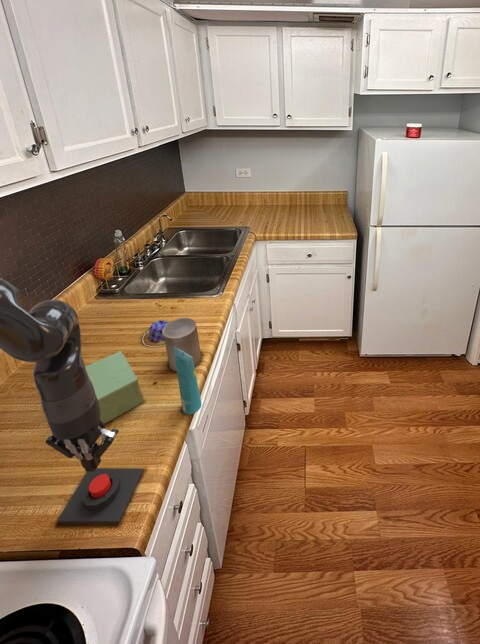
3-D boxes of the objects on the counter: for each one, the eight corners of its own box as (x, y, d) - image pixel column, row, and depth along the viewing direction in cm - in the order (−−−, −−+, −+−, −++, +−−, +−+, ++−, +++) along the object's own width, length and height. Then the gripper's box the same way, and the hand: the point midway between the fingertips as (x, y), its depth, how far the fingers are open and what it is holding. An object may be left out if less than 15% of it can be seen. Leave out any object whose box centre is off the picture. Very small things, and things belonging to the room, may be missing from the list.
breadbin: (143, 404, 91) (137, 379, 88) (94, 431, 84) (85, 406, 80) (127, 376, 100) (121, 352, 97) (82, 398, 93) (73, 374, 90)
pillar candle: (198, 348, 112) (193, 310, 106) (204, 367, 104) (198, 328, 98) (167, 357, 108) (160, 319, 102) (170, 378, 100) (162, 338, 94)
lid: (138, 381, 87) (137, 379, 87) (86, 408, 80) (85, 405, 80) (121, 352, 97) (121, 350, 97) (73, 374, 90) (72, 371, 89)
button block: (58, 526, 65) (53, 515, 64) (91, 473, 74) (87, 462, 73) (119, 526, 65) (116, 515, 64) (144, 473, 74) (141, 462, 73)
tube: (208, 406, 91) (200, 351, 84) (195, 421, 87) (185, 363, 80) (189, 396, 94) (179, 341, 87) (175, 409, 90) (164, 353, 83)
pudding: (183, 339, 116) (181, 327, 114) (146, 353, 109) (143, 340, 107) (175, 322, 125) (173, 310, 123) (140, 333, 119) (137, 321, 117)
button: (86, 498, 67) (84, 492, 66) (97, 479, 70) (95, 474, 70) (104, 498, 67) (102, 492, 66) (114, 479, 70) (112, 474, 70)
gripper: (17, 422, 57) (46, 487, 63) (95, 422, 57) (116, 487, 63) (49, 386, 63) (72, 448, 70) (119, 387, 64) (135, 448, 70)
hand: (93, 466), depth 66 cm, fingers closed
